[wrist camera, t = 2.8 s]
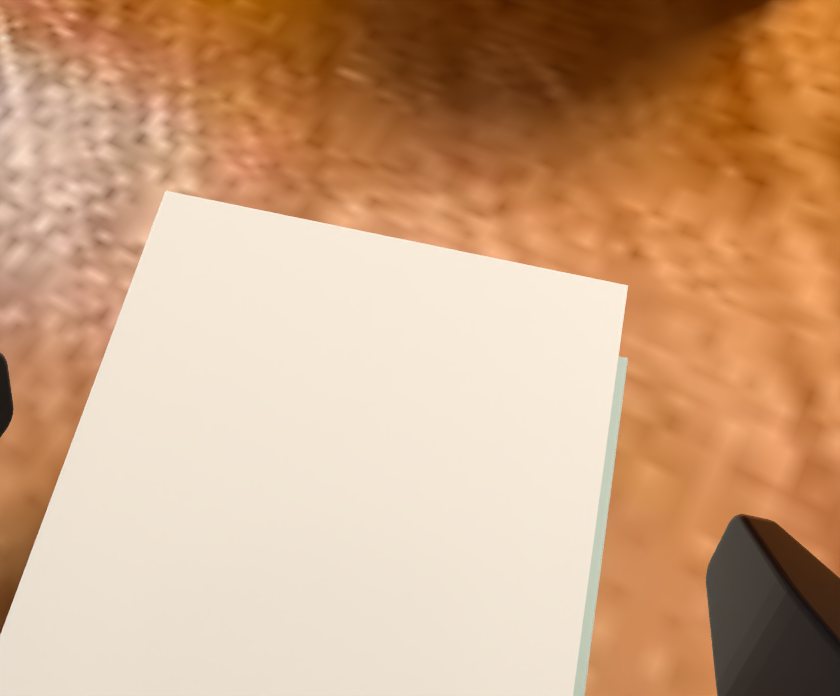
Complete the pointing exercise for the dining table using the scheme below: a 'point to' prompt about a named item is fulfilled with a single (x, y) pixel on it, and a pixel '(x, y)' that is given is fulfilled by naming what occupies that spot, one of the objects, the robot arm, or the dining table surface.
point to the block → (324, 473)
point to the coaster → (600, 530)
